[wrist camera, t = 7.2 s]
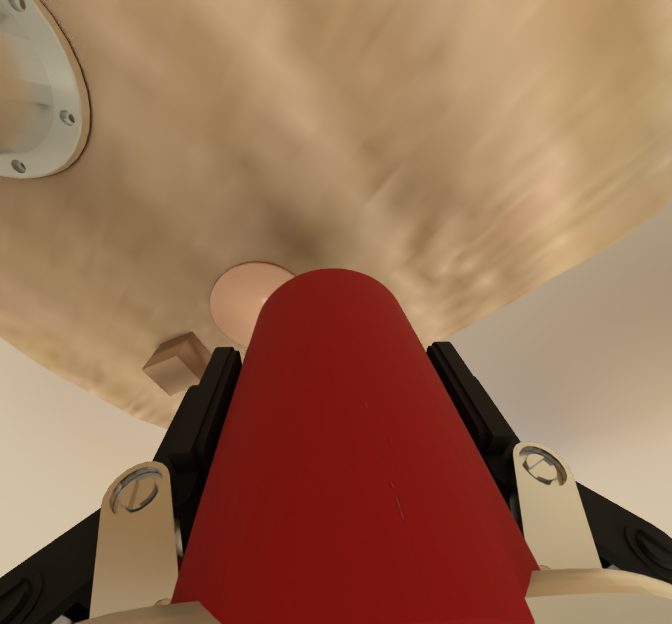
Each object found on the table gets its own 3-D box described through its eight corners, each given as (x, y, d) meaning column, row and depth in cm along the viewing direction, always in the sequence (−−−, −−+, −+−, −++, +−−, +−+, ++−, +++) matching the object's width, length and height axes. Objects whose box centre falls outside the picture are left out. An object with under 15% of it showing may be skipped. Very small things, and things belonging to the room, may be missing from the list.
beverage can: (316, 396, 16) (325, 859, 6) (225, 315, 13) (-125, 1039, 2) (423, 336, 14) (712, 845, 4) (350, 226, 11) (837, 1350, 1)
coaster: (199, 264, 26) (197, 267, 25) (307, 259, 26) (307, 261, 26) (224, 349, 31) (223, 352, 31) (314, 343, 32) (314, 347, 31)
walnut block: (161, 343, 30) (141, 369, 27) (192, 331, 30) (176, 355, 26) (185, 368, 32) (169, 395, 29) (214, 357, 32) (202, 383, 28)
